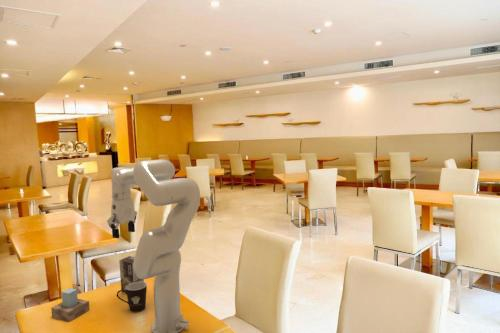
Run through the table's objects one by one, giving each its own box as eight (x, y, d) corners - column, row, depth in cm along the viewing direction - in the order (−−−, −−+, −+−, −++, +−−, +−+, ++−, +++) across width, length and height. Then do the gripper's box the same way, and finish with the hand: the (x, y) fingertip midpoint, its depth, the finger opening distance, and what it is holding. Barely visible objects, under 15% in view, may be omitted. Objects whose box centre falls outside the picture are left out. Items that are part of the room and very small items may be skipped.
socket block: (89, 310, 155) (88, 301, 155) (69, 321, 146) (69, 312, 146) (72, 306, 159) (71, 297, 159) (51, 317, 150) (51, 307, 149)
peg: (78, 312, 153) (76, 289, 152) (70, 316, 150) (69, 293, 149) (71, 310, 155) (69, 288, 154) (63, 315, 151) (61, 292, 150)
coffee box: (144, 292, 171) (143, 258, 170) (134, 297, 166) (132, 263, 164) (131, 288, 176) (129, 255, 175) (120, 293, 171) (118, 259, 169)
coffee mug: (151, 304, 158) (150, 282, 157) (140, 314, 150) (139, 291, 149) (128, 302, 162) (127, 280, 161) (116, 311, 153) (114, 288, 152)
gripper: (113, 200, 148) (116, 241, 150) (141, 193, 164) (143, 230, 166) (99, 199, 151) (102, 239, 153) (128, 192, 167) (130, 229, 169)
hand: (123, 234), depth 159 cm, fingers open, 9 cm apart
